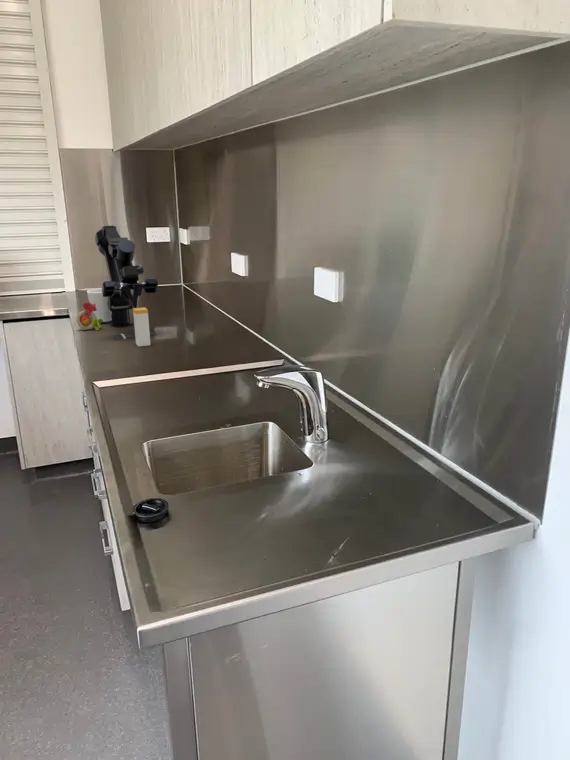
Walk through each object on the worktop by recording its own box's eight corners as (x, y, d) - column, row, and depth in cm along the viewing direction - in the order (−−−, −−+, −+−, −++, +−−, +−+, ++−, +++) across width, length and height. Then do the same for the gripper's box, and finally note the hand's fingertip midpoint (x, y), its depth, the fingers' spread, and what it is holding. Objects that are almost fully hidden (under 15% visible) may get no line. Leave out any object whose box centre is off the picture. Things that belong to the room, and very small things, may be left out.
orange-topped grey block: (136, 343, 201) (132, 308, 197) (147, 342, 203) (144, 307, 199) (138, 346, 198) (135, 310, 194) (150, 345, 199) (147, 309, 196)
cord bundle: (116, 341, 206) (115, 337, 206) (113, 338, 211) (113, 334, 210) (157, 337, 213) (157, 333, 212) (154, 334, 217) (153, 330, 217)
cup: (119, 319, 240) (116, 288, 236) (110, 325, 231) (107, 292, 227) (96, 319, 241) (92, 288, 237) (86, 324, 232) (82, 292, 228)
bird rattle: (84, 338, 220) (107, 326, 221) (69, 311, 216) (91, 300, 217) (85, 334, 226) (106, 323, 227) (69, 308, 222) (91, 297, 223)
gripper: (100, 257, 198) (109, 296, 193) (154, 254, 206) (165, 291, 201) (98, 277, 208) (107, 314, 202) (150, 274, 216) (160, 309, 210)
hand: (135, 307), depth 203 cm, fingers closed
